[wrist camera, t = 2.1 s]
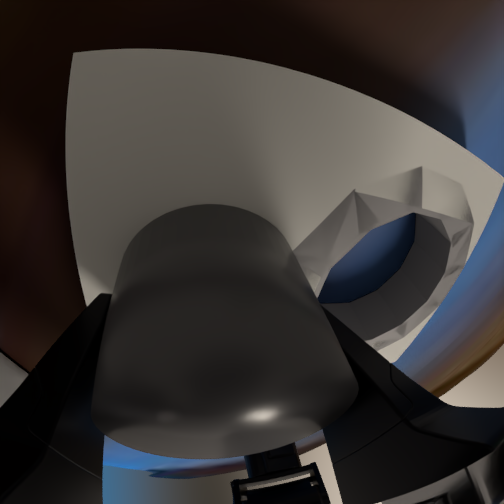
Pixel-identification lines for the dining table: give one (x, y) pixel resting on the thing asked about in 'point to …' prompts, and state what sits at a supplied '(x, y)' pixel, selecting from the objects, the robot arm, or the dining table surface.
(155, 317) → the cap
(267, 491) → the robot arm
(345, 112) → the board
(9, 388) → the photo printer
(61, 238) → the dining table surface
